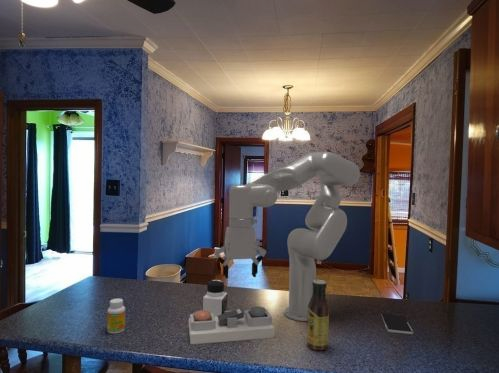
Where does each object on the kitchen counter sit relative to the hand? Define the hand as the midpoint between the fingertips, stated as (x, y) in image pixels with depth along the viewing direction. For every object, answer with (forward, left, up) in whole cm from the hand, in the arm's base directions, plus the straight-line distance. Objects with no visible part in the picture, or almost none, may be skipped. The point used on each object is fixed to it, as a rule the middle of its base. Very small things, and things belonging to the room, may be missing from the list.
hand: (240, 276), depth 115 cm
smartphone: (-55, +3, -19) cm, 58 cm away
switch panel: (+3, 0, -18) cm, 18 cm away
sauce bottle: (-21, +14, -18) cm, 31 cm away
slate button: (-6, 0, -14) cm, 15 cm away
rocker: (+3, 0, -13) cm, 13 cm away
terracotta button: (+12, 0, -14) cm, 18 cm away
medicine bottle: (+6, -16, -18) cm, 25 cm away
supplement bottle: (+39, -8, -18) cm, 44 cm away
